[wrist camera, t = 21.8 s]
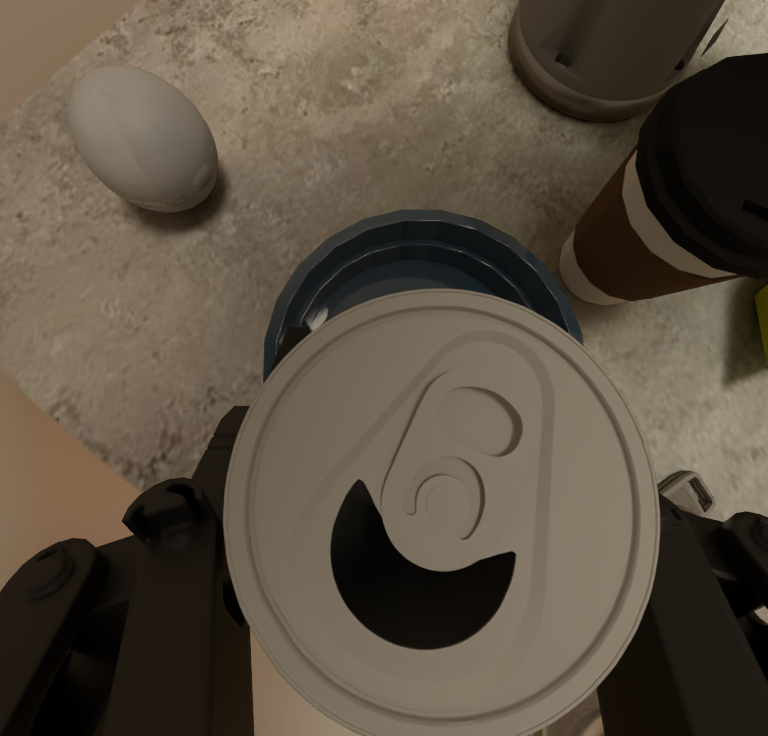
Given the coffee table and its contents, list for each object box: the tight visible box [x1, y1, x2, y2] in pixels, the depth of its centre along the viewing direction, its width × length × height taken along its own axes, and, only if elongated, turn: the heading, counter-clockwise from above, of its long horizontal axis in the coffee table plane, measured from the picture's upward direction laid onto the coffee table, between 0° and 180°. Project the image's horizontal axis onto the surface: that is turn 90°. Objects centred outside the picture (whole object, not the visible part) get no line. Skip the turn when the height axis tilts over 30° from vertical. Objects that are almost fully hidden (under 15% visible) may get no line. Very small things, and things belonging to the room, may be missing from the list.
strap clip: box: [657, 471, 716, 517], centre depth 21 cm, size 8×3×4 cm, turn 119°
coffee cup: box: [559, 53, 768, 305], centre depth 20 cm, size 11×11×12 cm
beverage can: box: [223, 289, 660, 736], centre depth 10 cm, size 6×6×12 cm
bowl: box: [263, 210, 584, 384], centre depth 22 cm, size 20×20×5 cm
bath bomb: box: [69, 65, 218, 213], centre depth 21 cm, size 8×8×8 cm
